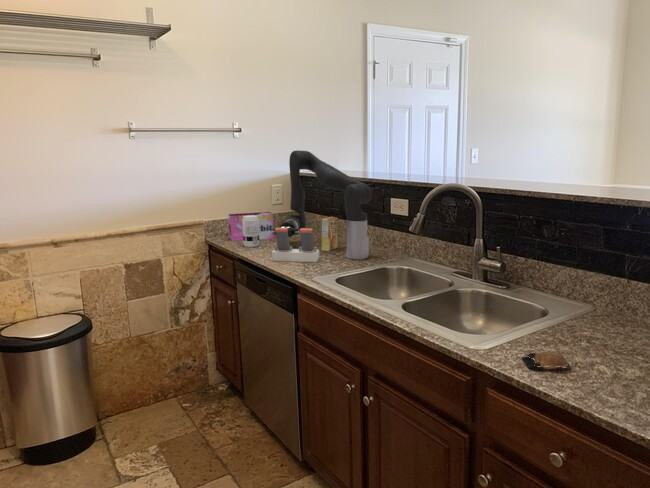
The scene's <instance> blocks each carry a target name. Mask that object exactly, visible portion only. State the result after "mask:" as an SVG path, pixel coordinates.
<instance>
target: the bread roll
mask: <svg viewBox="0 0 650 488" xmlns="http://www.w3.org/2000/svg"><path fill="white" fill-rule="evenodd" d="M527 356H529V357H530V358H529V357H527ZM563 357H564V356H563V355H561V354H560V353H557V352H550V351H543V352H537V353H536V352H529V354H527V355H526V356H522V357H521V360H522V362H523V363H524V366H525V367H526V368H527V369H528V370H530V371H532V372H537V373H538V372H539V373H557V374H558V373H562V374H563V373H575V372H576V369H575V368H574V367H573V366H572V365H571V364H569V363H568V362H567V360H566V358H565V357H564V358H565V359H564V358H563ZM531 358H534V359H535V361H534V360H533V359H531ZM535 362H536V363H535ZM567 363H568V366H566V367H567V368H562V367H555V366H564V365H566V364H567ZM534 365H535V366H534ZM541 365H543V366H541ZM537 366H541V367H537ZM544 366H549V367H544Z"/></svg>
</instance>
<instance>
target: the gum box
mask: <svg viewBox="0 0 650 488" xmlns="http://www.w3.org/2000/svg"><path fill="white" fill-rule="evenodd" d="M246 215H256V216H257V217H258V219H259V240H270V239H271V240H272V239H274V238H275V237H274V235H275V234H272V228H275V226H274V213H272V212H271V211H262V212H261V211H260V212H259V211H258V212H244V213H243V212H242V213H229V214H228V217H227V222H228V227H229V228H228V229H229V239H230V240H231V241H232V242H241V241H242V242H243V232H242V218H243V216H246Z"/></svg>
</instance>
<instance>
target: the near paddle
mask: <svg viewBox="0 0 650 488" xmlns="http://www.w3.org/2000/svg"><path fill="white" fill-rule="evenodd" d="M313 232H314V231H313V228H309V227H308V228H306V227H305V228H301V229H300V230H299V233H300V239H301V240H300V242H301V243H300V244H301V247H302V251H314V247H315V246H314V236H313V234H314V233H313Z"/></svg>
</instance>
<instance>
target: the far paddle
mask: <svg viewBox="0 0 650 488" xmlns="http://www.w3.org/2000/svg"><path fill="white" fill-rule="evenodd" d="M275 232H276V235H275V236H276V246H278V250H289V247H290V243H289V237H288V228H280V227H275Z"/></svg>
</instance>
